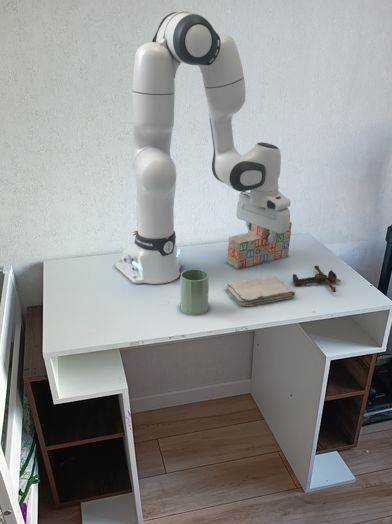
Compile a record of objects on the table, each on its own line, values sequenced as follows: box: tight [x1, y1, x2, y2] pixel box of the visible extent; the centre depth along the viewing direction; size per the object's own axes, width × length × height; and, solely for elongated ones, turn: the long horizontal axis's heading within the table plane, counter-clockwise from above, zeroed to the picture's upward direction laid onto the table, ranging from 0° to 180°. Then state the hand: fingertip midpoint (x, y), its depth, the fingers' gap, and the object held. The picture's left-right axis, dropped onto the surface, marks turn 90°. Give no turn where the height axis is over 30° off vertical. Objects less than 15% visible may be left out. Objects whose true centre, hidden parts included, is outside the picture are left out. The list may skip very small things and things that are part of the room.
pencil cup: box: [179, 268, 210, 316], centre depth 142 cm, size 8×8×10 cm
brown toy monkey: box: [292, 265, 342, 294], centre depth 158 cm, size 18×4×14 cm
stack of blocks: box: [227, 221, 293, 270], centre depth 170 cm, size 21×6×12 cm, turn 121°
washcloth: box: [226, 276, 296, 307], centre depth 151 cm, size 12×18×3 cm, turn 111°
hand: (260, 238), depth 169 cm, fingers closed on stack of blocks, 6 cm apart
